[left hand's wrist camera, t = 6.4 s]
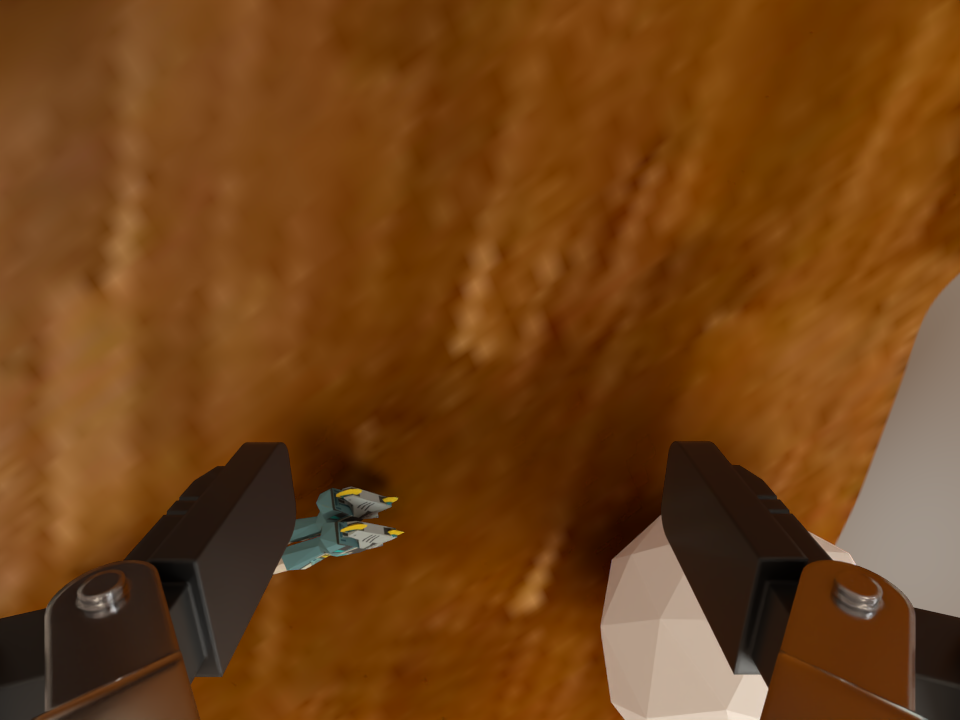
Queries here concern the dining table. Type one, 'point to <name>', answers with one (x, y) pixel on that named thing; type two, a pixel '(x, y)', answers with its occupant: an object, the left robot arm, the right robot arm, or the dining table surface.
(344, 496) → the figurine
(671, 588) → the sphere
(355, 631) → the dining table surface
